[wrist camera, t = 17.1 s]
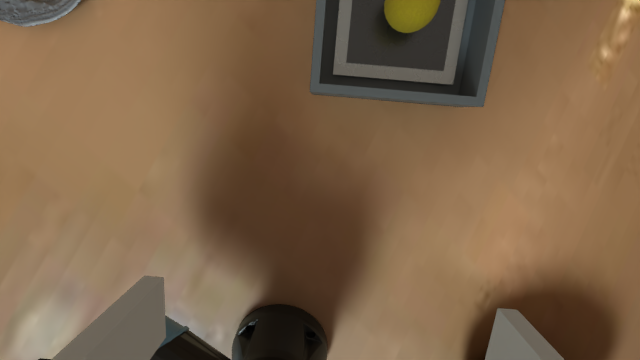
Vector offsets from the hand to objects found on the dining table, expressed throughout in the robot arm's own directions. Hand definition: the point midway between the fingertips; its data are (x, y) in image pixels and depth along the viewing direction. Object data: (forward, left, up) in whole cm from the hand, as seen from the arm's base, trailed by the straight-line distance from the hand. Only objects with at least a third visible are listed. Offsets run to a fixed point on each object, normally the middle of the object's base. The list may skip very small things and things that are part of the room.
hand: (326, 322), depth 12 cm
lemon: (+20, -7, -29) cm, 36 cm away
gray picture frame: (+20, -7, -30) cm, 37 cm away
